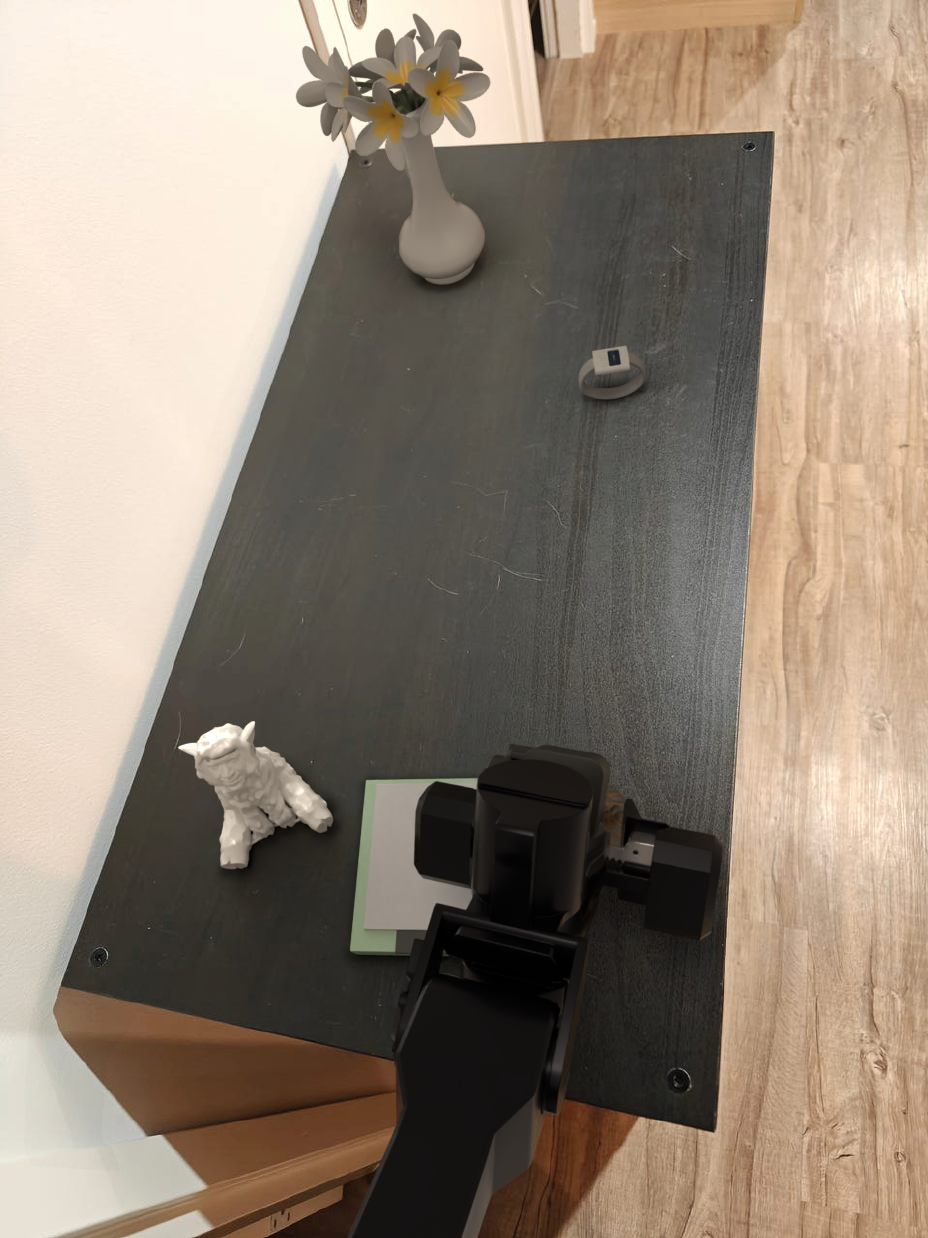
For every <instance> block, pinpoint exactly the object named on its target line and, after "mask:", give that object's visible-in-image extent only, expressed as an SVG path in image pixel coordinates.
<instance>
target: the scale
mask: <svg viewBox="0 0 928 1238" xmlns="http://www.w3.org/2000/svg"><path fill="white" fill-rule="evenodd" d="M477 779H478V777H468V778H467V777H465V778H415V779H414V778H409V779H408V778H407V779H366V780H365V787H364V799H363V810H362V817H361V830H360V841H359V851H358V852H359V853H358V862H357V871H356V883H355V892H354V893H355V894H354V905H353V913H352V915H353V916H352V924H351V926H352V927H351V935H350V946H349V951H350V952H351V953H353V954H354V955H356V956H357V955H358V956H361V955H362V956H363V955H364V956H409V957H410V954H411V950H412V946H413V942H414V938H417V939H421V940H424V939H425V935H426V932H427V929H428V925H429V922H430V919H431V915H432V912H433V909H434V906H435V904H436V903H440V904H444V905H448V906H452V907H457V908H461V909H465V910H466V909H467V907H468V905H469V903H470V901H471V899H472V893H471V889H468V888H463V887H459V886H454V885H450V884H446V883H441V882H437V881H432V880H428V879H423V878H422V877H421V876H420V875H419V873H418V871H417V870H416V868H415V866H414V840H415V811H416V807H417V803H418V800H419V798H420V796H421V795H422V794H423V792H424V791H425V790H426V788H427V787H428V786H429V785H431V784H432V783H434V782H435V781H439V782H444V783H449V784H455V785H460V786H465V787H470V788H474V789H475V790H476V789H477ZM442 957H450V956H449V955H447V954H446V952H445V950H444V951H443V955H442Z"/></svg>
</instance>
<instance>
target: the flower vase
mask: <svg viewBox="0 0 928 1238" xmlns="http://www.w3.org/2000/svg"><path fill="white" fill-rule="evenodd" d="M412 19H413V22H414V24H415V26H416V28H412V29H410V30H409V31H408V32H407V33H406V34H404V35H403V36H402V37H400V38H399V39H398V41H396V43H395V39H394V35H393V32H392V31H391V30H390V29H389V28H386V27H384V28H383V29H381V30H380V31H379V33H378V35H377V37H376V39H375V44H374V50H375V55H376V57H368V58H365V59H363V60H360V61H357V62H355V63H354V64H352V65H351V66H350V67H348V65H345V63H344V61H343V59H342V56H341V55H340V52H339V49H338V48H337V47H336V46H334V47H333V48H332V53H331V54H330V56H329V57H328V61H327V63H325V61H323V59H322V58H321V57H320V56H319V54H318V53H317V52H316V51H315V50H314V49H313V48H312V47H310V46H308V45H304V46H303V47H302V50H301V51H302V52H301V53H302V58H303V62H304V64H305V67H306V68H307V70H308V71H309V73H310V74H311V75H312V76H313V77H314V78H316V80H310V81H308V82H305V83H304V84H302V85H300V86H299V88H298V89H297V91H296V93H295V99H296V102H297V104H298V105H300V106H302V107H304V108H315V107H318V106H321V105H323V106H322V107H321V110H320V117H319V118H320V119H319V120H320V127H321V131H322V134H323V135H324V136H325V137H329V136H330V139H331V142H332V143H334V142H335V141H336V139H337V138H338V136H339V135H340V134H341V132H343V134H346V133H347V130H348V127H349V125H350V123H351V121H352V118H354V119H356V120H358V121H360V122H363V123H368V124H366V125H365V126H363V128H362V129H361V130H360V132H358V135H357V137H356V139H355V142H354V149H355V152H356V153H357V154H358V156H361V157H368V156H370V155H372V154H374V153H375V152H376V151H378V150H379V148H380V147H382V145H383V144H384V150H385V153H386V156H387V158H388V161H389V163H390V164H391V165H392V166H393V167H394V169H395V170H397V171H399V172H401V171H404V170H405V169H407V173H408V174H407V175H408V177H409V182H410V187H411V195H412V203H411V211H410V213H409V214H408V215H407V217H406V218H405V220H404V222H403V224H402V225H401V228H400V231H399V235H398V241H397V243H398V246H397V247H398V253H399V257H400V259H401V260H402V262H403V264H404V265H405V267H407V268H408V269H409V270H410V271H412V273H414V274H415V275H418V276H420V277H422V278H423V279H425V281H427V282H429V283H431V284H434V285H439V286H441V285H442V286H443V285H451V284H455V283H457V282H459V281H461V280H463V279H465V277H467V276H468V275H469V274H470V273H471V272H472V271H473V268H474V266H475V263H476V261H478V259H479V257H480V255H481V253H482V252H483V249H484V246H485V242H486V241H485V240H486V232H485V231H486V230H485V227H484V224H483V221H482V220H481V219H480V217H479V216H478V214H477V212H475V210H474V209H472V208H470V207H469V206H468V205H467V204H465V203H464V202H461V201H459V200H456V199H455V198H454V197H453V196H452V195H451V193H450V192H449V190H448V187H447V186H446V184H445V181H444V178H443V175H442V171H441V169H440V165H439V162H438V159H437V154H436V151H435V147H434V144H433V139H432V138H433V137H432V136H433V135H434V134H435V133H437V131H439V130H440V128H441V127H442V125H443V124H444V121H445V118H446V120H447V121H448V122H449V124H450V125H451V126H452V127H453V129H454V130H455V131H456V132H458V134H459V135H461V136H462V137H463V138H466V139H471V138H473V137H474V136H475V134H476V130H477V129H476V128H477V125H476V120H475V118H474V116H473V113H472V112H471V110H470V109H469V107H468V106H467V105H466V104H465V103H464V102H469V101H473V100H476V99H478V98H480V97H481V96H483V95H484V94H485V93H487V91H488V90H489V88H490V86H491V78H490V77H489V75H487V74H486V73H483V71H484V67H483V66H482V65H481V64H480V63H478V62H477V61H475V60H473V59H472V58H470V57H466V56H460V49H461V47H462V37H461V36H460V34H459V33H458V32H457V31H456V30H454V29H450V28H447V29H444V30H443V31H441V32H440V34H439V35H438V37H437V39H436V41H435V34H434V32H433V30H432V28H431V27H430V25H429V24H428V23H427V22H426V21H425V19H423V18H422V16H420V15H418V14H417V13H412ZM417 32H418V34H419V35H417ZM414 40H416V41H417V43H418V44H419V46H420V48H421V49H422V51H423V52H422V53H421V54H420V55H419V56H418V59H417V47H416V44H415V41H414ZM464 72H468V73H464ZM463 73H464V74H463ZM458 74H460V75H459V76H458ZM353 78H357V79H368V80H365V81H354V79H353ZM393 90H397V91H395V92H394V91H393ZM368 92H371V96H370V95H365V94H366V93H368ZM384 142H385V143H384Z"/></svg>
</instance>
